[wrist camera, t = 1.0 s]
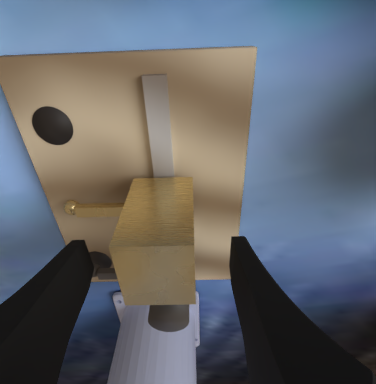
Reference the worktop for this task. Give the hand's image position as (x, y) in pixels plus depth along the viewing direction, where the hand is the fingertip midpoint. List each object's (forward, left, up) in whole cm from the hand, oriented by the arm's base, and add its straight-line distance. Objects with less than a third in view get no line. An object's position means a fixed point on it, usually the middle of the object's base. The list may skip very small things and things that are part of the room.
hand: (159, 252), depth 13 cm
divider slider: (0, +2, -5) cm, 5 cm away
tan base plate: (0, +2, -6) cm, 6 cm away
